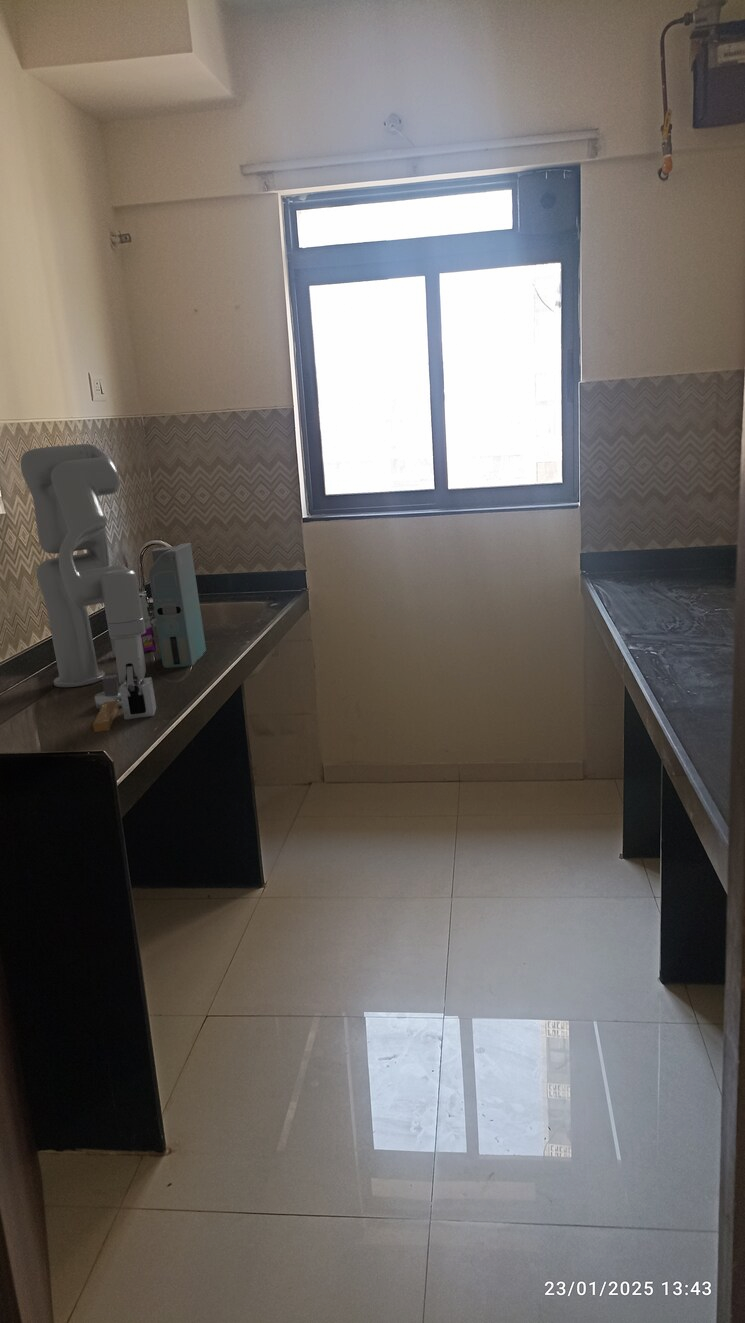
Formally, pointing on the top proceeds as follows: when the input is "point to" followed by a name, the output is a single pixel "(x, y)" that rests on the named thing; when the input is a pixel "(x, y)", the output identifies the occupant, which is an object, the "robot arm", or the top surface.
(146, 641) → the candy bar box
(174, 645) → the device
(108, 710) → the hammer
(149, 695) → the white block
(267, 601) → the top surface
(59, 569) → the robot arm
